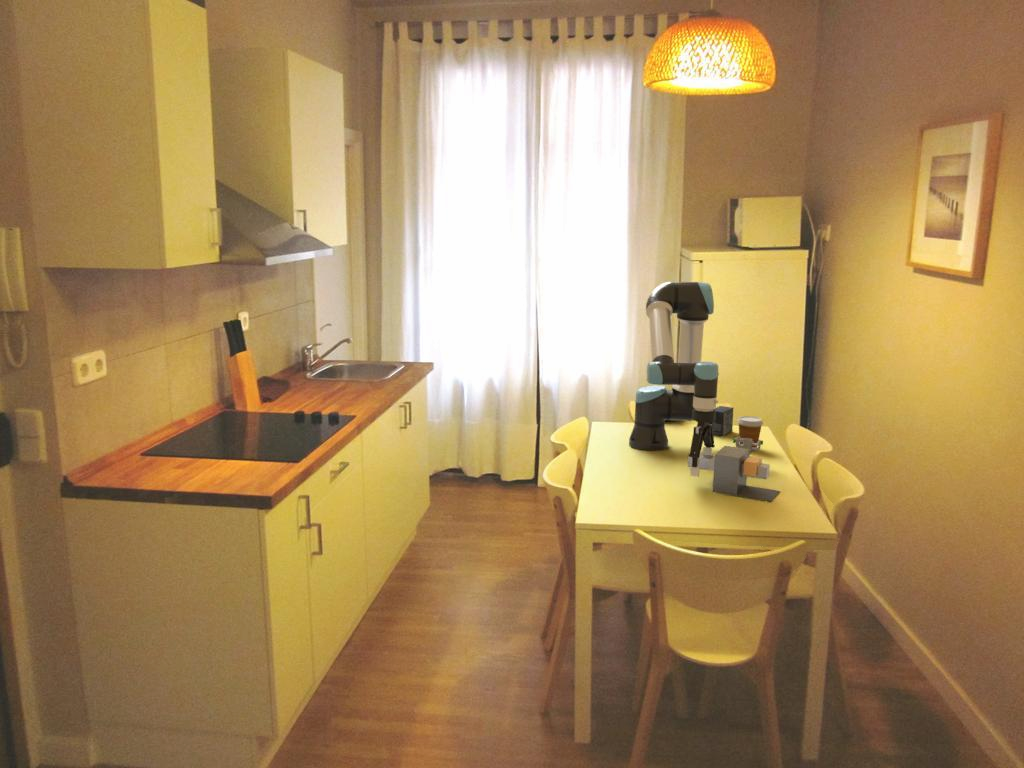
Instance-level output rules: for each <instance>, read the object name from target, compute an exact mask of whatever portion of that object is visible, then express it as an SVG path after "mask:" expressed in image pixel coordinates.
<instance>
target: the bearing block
mask: <svg viewBox="0 0 1024 768" xmlns="http://www.w3.org/2000/svg"><path fill="white" fill-rule="evenodd" d="M748 454H749V449H745V448H738V447H736V446H729V445H724V446H723V447H722V448H720V449H719V450H718V451H717V452H715V453H714V456H715V459H714V471H713V474H712V476H713V478H712V493H713V494H719V495H725V496H726V495H727V496H731V497H737V495H738V494H739V493H740V492H741V490H742V489H743V488H744V487H745V486H746V485H747V482H748V479H747V478H748V477H747V476H741V465H742V462H743V461H745V460H746V459H747V458H748ZM737 498H738V497H737Z"/></svg>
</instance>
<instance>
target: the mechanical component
mask: <svg viewBox="0 0 1024 768" xmlns="http://www.w3.org/2000/svg"><path fill="white" fill-rule="evenodd" d="M740 442H743V444H740ZM732 443H733V444H735V447H738V448H745V449H749V454H748V457H749V456H751V455H752V451H751V450H754V451H755V452H756V451H757V452H758V451H760V450H761V445H762V446H763V444H764V440H761V439H759V440H758V442H757V443H753V441H752V439H751V438H739V437H738V436H737V437H735V438H733V440H732ZM752 446H757V448H752Z"/></svg>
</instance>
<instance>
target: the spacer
mask: <svg viewBox="0 0 1024 768" xmlns="http://www.w3.org/2000/svg"><path fill="white" fill-rule="evenodd" d="M762 460H763V459H762V457H761V456H760V457H758V456H752V455H749V457H748V458H747V459H746V460H745V461H744V472H743V474H744V475H751V476H757V466H758V465H759V464H760V463H762V462H763V461H762Z"/></svg>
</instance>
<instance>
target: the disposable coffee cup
mask: <svg viewBox="0 0 1024 768" xmlns="http://www.w3.org/2000/svg"><path fill="white" fill-rule="evenodd" d="M737 424H738V436H739V437H738V438H751V439H752V441H753V443H757V442H758V440H760V434H761V430H762V426H763V424H764V422H763V419H762V418H761V417H757V416H749V415H746V416H745V415H742V416H740V417H738V420H737ZM739 444H743V442H739ZM757 447H758V446H752V448H757ZM752 451H753V450H751V452H752Z"/></svg>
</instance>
